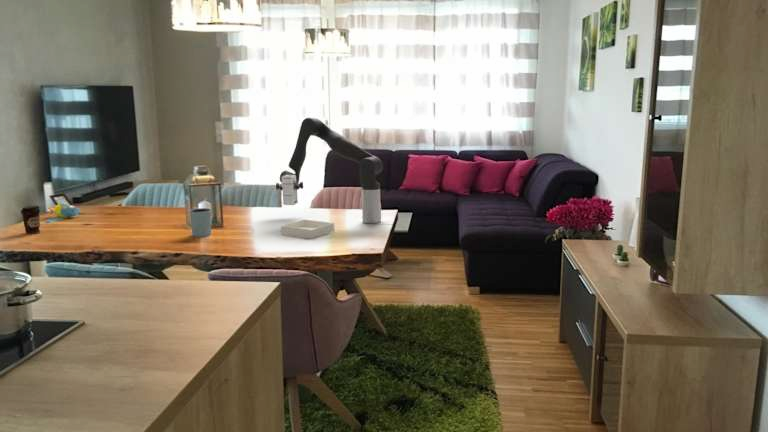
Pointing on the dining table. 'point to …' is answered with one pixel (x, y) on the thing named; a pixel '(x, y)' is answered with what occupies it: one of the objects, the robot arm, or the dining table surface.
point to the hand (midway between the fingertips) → (289, 187)
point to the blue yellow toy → (63, 212)
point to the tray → (307, 228)
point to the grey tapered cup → (200, 222)
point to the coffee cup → (31, 219)
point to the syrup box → (289, 190)
